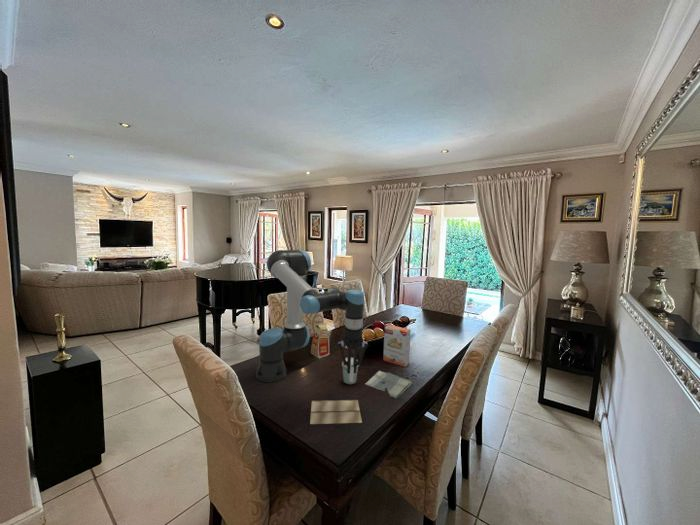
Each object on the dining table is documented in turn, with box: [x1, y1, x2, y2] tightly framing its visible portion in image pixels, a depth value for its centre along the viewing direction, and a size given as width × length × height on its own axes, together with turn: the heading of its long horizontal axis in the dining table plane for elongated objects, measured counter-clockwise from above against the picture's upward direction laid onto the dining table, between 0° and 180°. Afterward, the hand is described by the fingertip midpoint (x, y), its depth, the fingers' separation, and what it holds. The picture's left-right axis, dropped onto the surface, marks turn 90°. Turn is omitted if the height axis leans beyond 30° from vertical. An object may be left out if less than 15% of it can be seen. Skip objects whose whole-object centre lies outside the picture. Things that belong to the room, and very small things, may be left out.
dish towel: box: [364, 370, 413, 400], centre depth 143 cm, size 19×18×3 cm
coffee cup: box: [341, 357, 360, 385], centre depth 143 cm, size 8×9×12 cm
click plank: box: [310, 399, 360, 413], centre depth 122 cm, size 20×8×2 cm, turn 95°
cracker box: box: [382, 324, 411, 368], centre depth 168 cm, size 14×6×21 cm, turn 55°
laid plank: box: [309, 410, 363, 425], centre depth 115 cm, size 20×8×2 cm, turn 95°
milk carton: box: [310, 322, 330, 359], centre depth 177 cm, size 9×9×20 cm
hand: (351, 379), depth 124 cm, fingers closed
